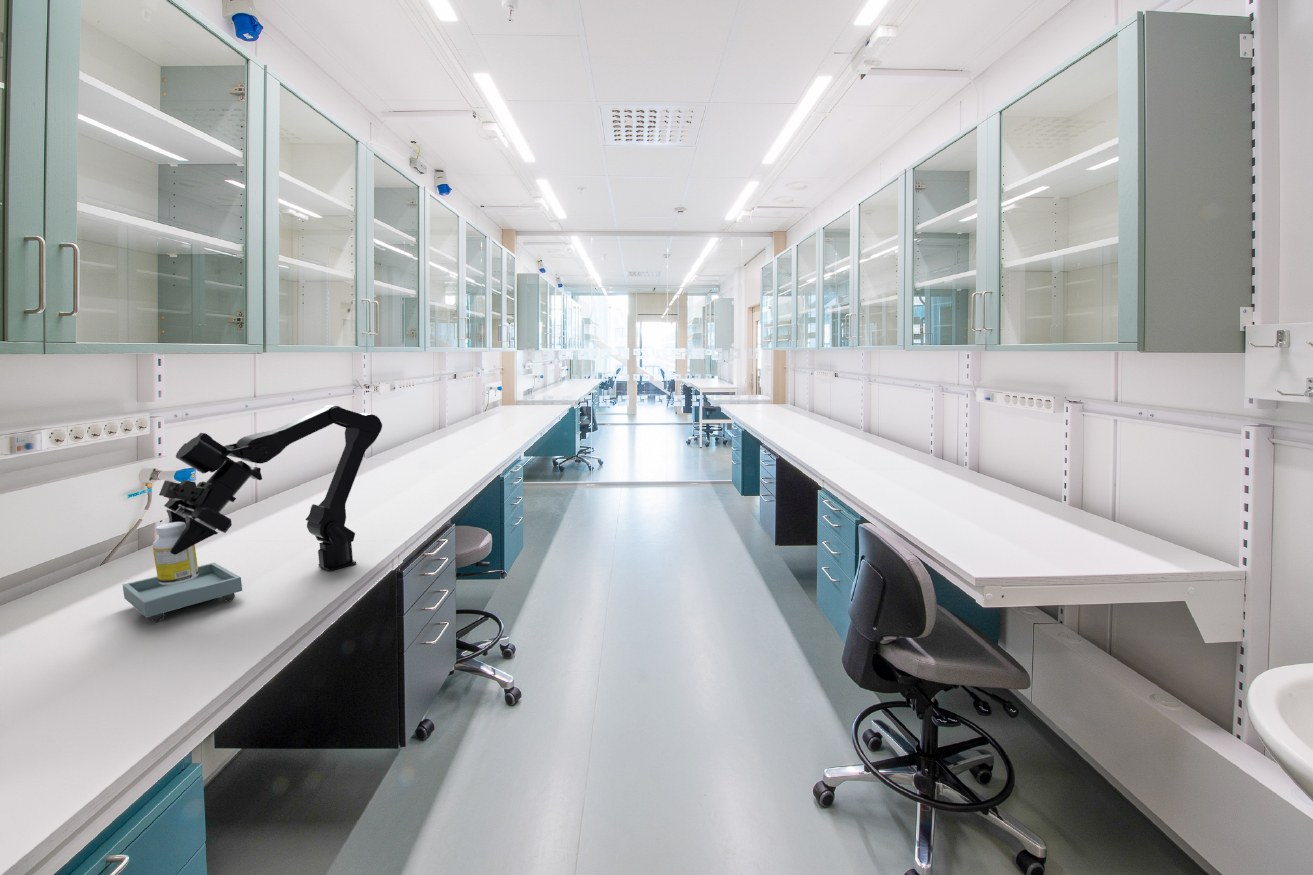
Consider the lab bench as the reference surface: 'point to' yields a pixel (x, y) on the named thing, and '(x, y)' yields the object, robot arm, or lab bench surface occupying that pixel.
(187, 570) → the pill bottle
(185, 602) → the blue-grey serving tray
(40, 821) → the lab bench surface
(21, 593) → the lab bench surface
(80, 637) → the lab bench surface
